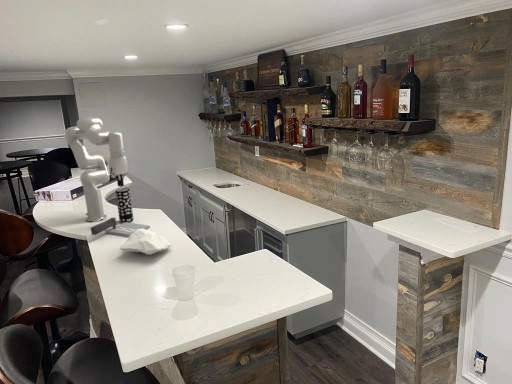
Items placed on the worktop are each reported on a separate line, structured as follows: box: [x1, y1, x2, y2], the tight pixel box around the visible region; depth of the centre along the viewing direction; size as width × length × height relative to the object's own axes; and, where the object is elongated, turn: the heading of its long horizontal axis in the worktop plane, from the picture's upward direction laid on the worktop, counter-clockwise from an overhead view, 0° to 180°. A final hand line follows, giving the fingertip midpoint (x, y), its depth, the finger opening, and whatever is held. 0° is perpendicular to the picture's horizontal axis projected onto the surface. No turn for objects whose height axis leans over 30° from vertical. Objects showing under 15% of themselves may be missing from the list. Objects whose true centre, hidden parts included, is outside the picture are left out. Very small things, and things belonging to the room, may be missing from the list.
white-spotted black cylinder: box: [115, 188, 135, 224], centre depth 240 cm, size 8×8×20 cm
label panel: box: [104, 222, 151, 238], centre depth 224 cm, size 19×16×3 cm
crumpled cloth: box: [119, 228, 172, 255], centre depth 191 cm, size 24×35×9 cm
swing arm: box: [90, 217, 118, 236], centre depth 217 cm, size 19×3×4 cm, turn 162°
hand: (120, 186), depth 222 cm, fingers closed
